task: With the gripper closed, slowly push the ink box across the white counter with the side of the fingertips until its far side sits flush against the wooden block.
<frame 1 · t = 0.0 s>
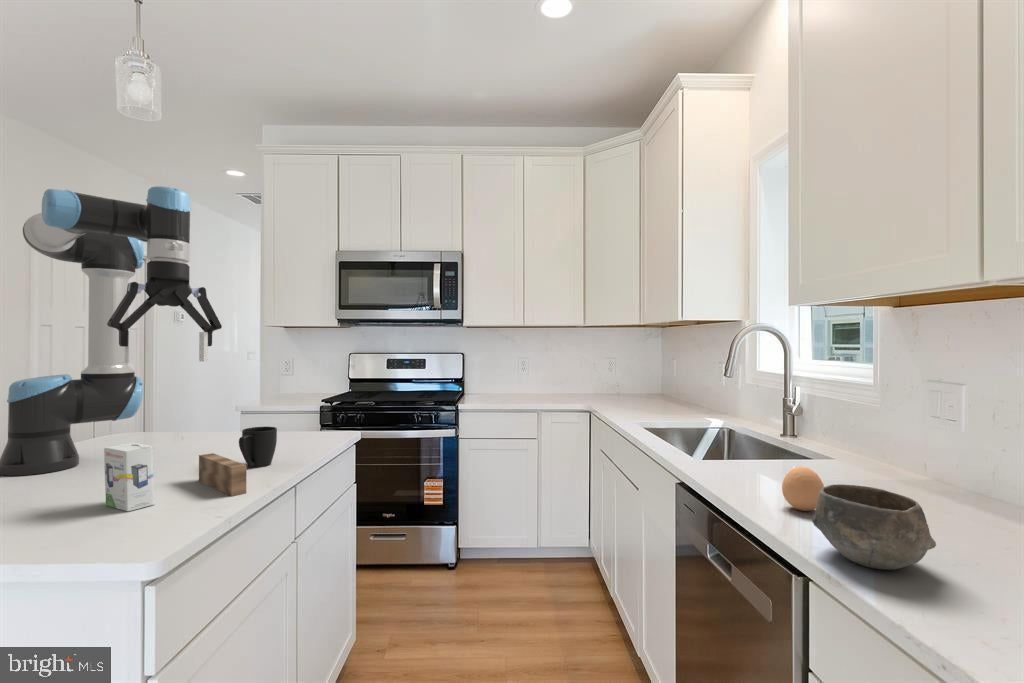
hand: (167, 362, 108), 28 cm above the worktop, fingers open, 13 cm apart
ink box: (129, 506, 100), on the worktop
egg: (802, 511, 100), on the worktop
mug: (254, 467, 132), on the worktop
bowl: (867, 561, 77), on the worktop
wooden block: (221, 486, 114), on the worktop
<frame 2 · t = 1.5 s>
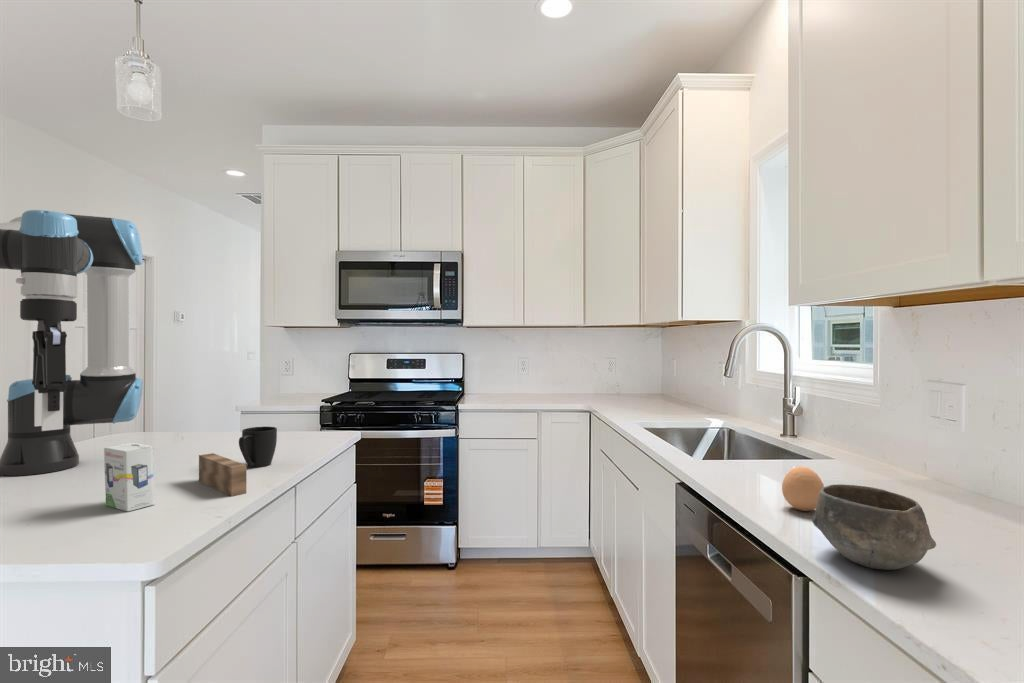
hand: (48, 427, 91), 17 cm above the worktop, fingers open, 6 cm apart
nothing on the worktop moved.
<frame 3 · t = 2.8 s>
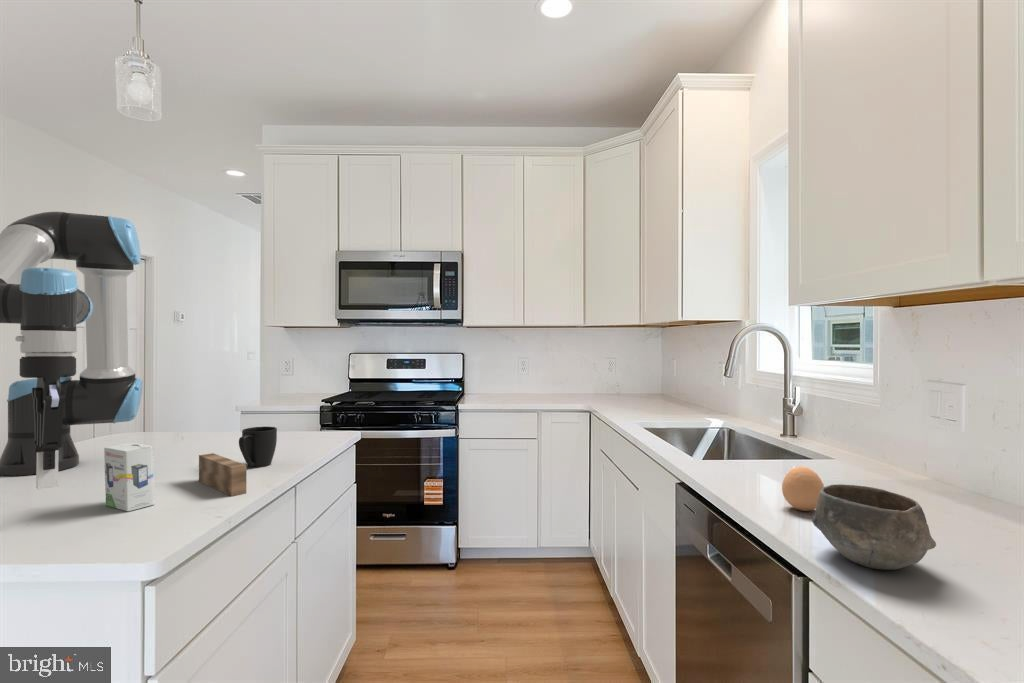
hand: (47, 486, 91), 6 cm above the worktop, fingers closed
nothing on the worktop moved.
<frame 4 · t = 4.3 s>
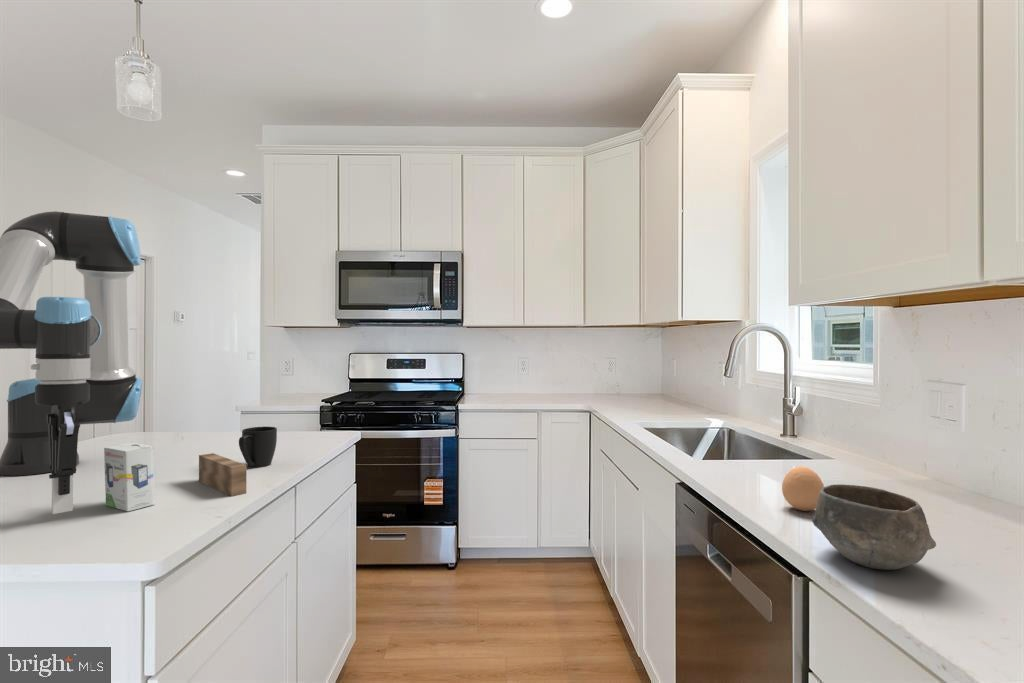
hand: (62, 511, 93), 1 cm above the worktop, fingers closed
nothing on the worktop moved.
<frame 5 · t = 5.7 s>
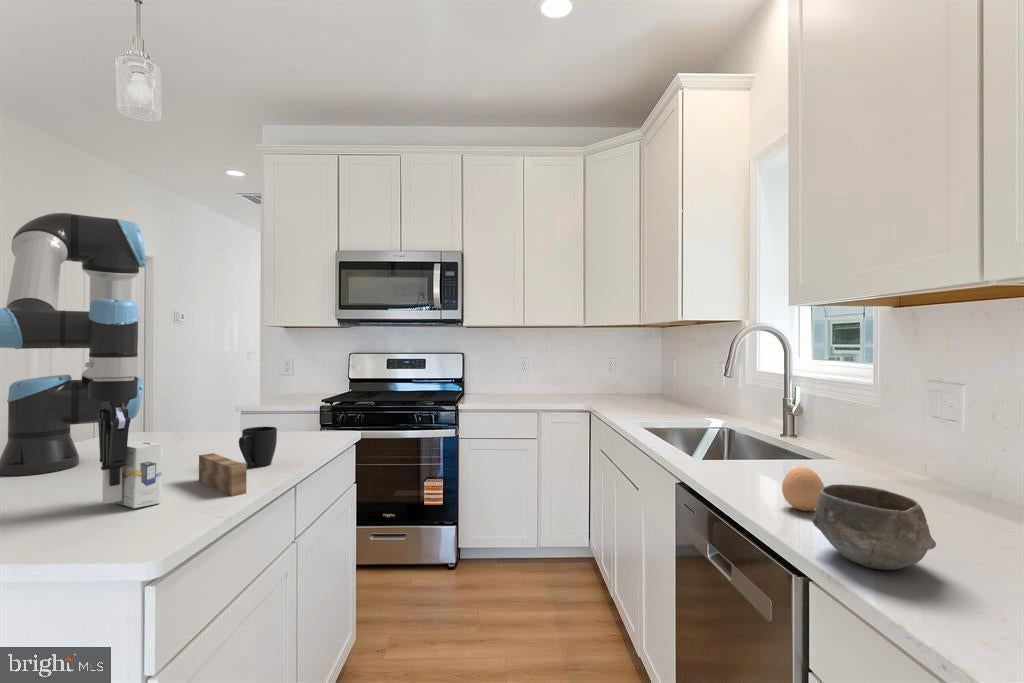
hand: (112, 501, 98), 1 cm above the worktop, fingers closed
ink box: (136, 504, 101), on the worktop
everything else where it was.
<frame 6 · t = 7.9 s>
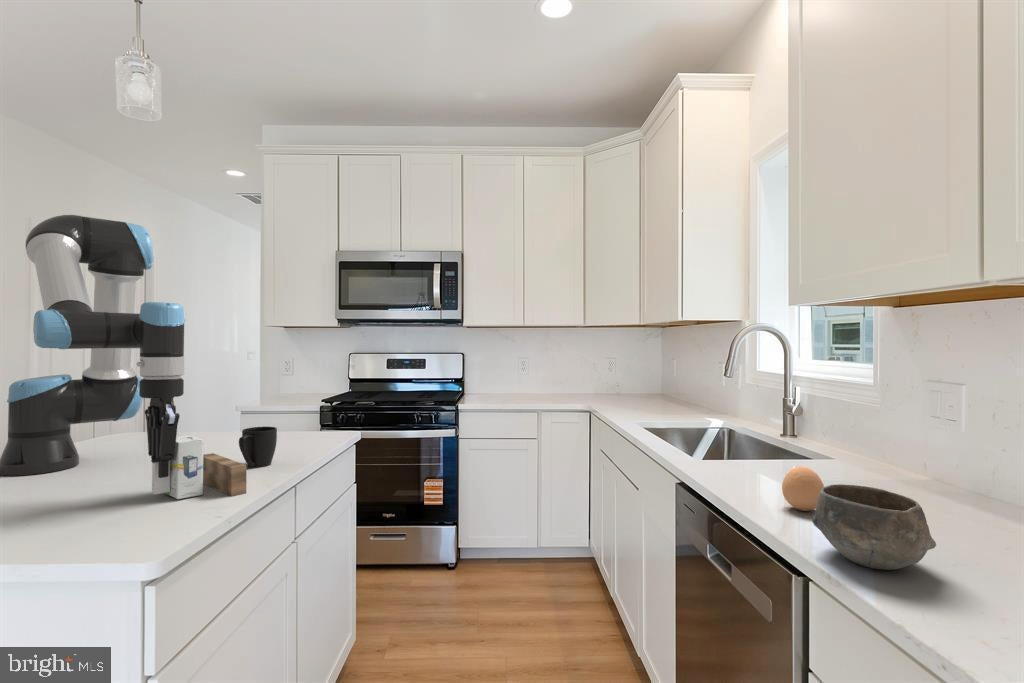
hand: (160, 492, 105), 1 cm above the worktop, fingers closed
ink box: (181, 495, 108), on the worktop, touching gripper
everything else where it was.
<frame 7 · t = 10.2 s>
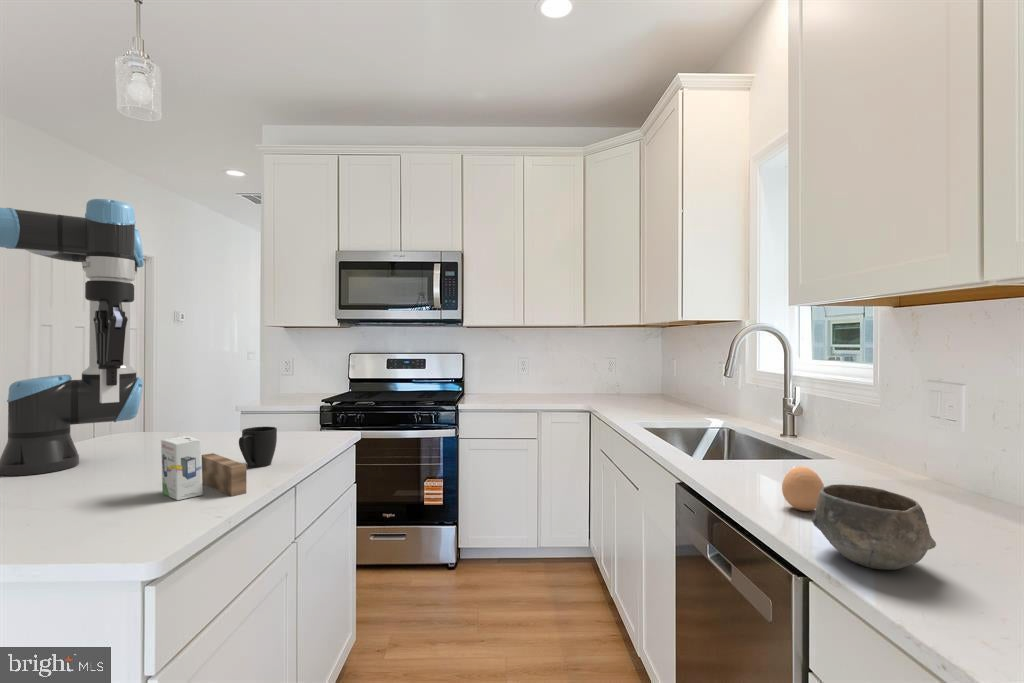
hand: (109, 402, 99), 21 cm above the worktop, fingers closed
ink box: (181, 495, 108), on the worktop
everything else where it was.
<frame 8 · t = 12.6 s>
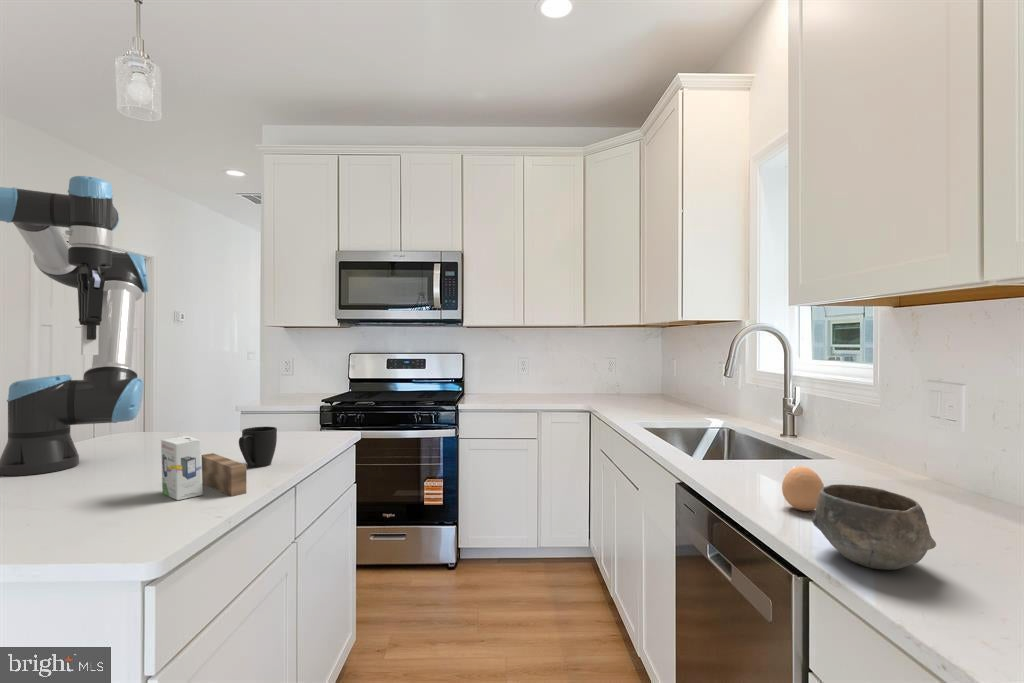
hand: (89, 354, 113), 29 cm above the worktop, fingers closed
nothing on the worktop moved.
at the end: ink box inside the target area on the worktop beside the wooden block (1.1 cm from its centre), on the worktop; ink box tilted 0° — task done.
